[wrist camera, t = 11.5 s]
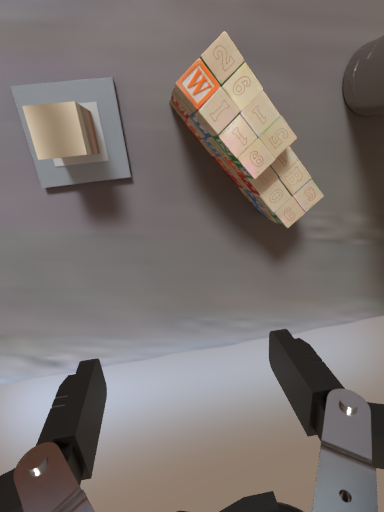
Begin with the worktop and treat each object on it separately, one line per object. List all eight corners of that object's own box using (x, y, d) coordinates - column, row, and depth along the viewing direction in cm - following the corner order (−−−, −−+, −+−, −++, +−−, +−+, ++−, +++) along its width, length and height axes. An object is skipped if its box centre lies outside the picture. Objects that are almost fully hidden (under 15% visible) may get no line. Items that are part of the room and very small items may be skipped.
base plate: (113, 78, 34) (111, 76, 33) (131, 176, 39) (130, 177, 38) (14, 87, 33) (9, 85, 32) (44, 187, 38) (41, 188, 37)
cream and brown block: (90, 111, 34) (74, 101, 27) (99, 153, 36) (86, 154, 29) (49, 115, 34) (22, 106, 27) (61, 157, 36) (38, 160, 28)
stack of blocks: (290, 187, 43) (340, 201, 32) (260, 214, 44) (298, 237, 33) (201, 66, 35) (225, 27, 24) (167, 102, 36) (174, 81, 25)
